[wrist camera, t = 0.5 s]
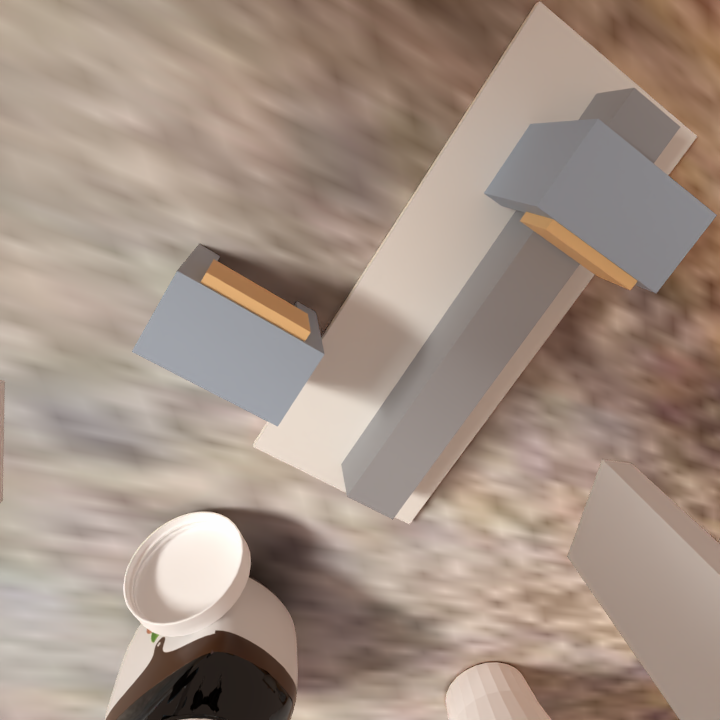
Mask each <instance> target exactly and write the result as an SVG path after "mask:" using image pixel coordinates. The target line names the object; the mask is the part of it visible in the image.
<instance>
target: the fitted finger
mask: <svg viewBox="0 0 720 720" xmlns="http://www.w3.org/2000/svg"><path fill="white" fill-rule="evenodd" d="M484 194H485V195H487V196H488V197H490V198H491V199H492V200H494V201H495V202H497V203H498V204H499V205H501V206H503V207H507V208H510V209H514V210H517V211H521V212H524V213H525V214H524V215H523V217H522V218H521V220H520V222H522V223H523V224H525V225H526V226H527V227H529V228H530V229H532V230H533V231H534V232H536V233H537V234H539V235H540V236H541V237H543V238H544V239H546V240H547V241H548V242H550V243H551V244H553V245H554V246H555V247H557V248H558V249H560V250H561V251H562V252H564V253H565V254H567V255H568V256H569V257H571V258H572V259H574V260H575V261H576V262H578V263H579V264H581V265H582V266H583V267H585V268H586V269H588V270H589V271H590V272H592V273H593V274H595V275H596V276H597V277H600V278H602V279H605V280H607V281H609V282H612V283H614V284H616V285H619V286H621V287H623V288H626V289H628V290H631V289H632V288H633V287H634V285H636V286H639V287H641V288H644V289H646V290H649V291H651V292H654V293H657V292H658V291H659V289H660V288H661V287H662V285H663V284H664V283H665V282H666V280H667V279H668V278H669V276H670V275H671V274H672V273H673V271H674V270H675V269H676V267H677V266H678V265H679V263H680V262H681V261H682V260H683V258H684V257H685V256H686V254H687V253H688V252H689V251H690V249H691V248H692V247H693V245H694V244H695V243H696V242H697V240H698V239H699V238H700V236H701V235H702V234H703V233H704V231H705V230H706V229H707V227H708V226H709V225H710V223H711V222H712V221H713V220H714V218H715V217H716V216H717V215H716V214H715V213H714V212H712V211H711V210H710V209H709V208H707V207H706V206H705V205H704V204H702V203H701V202H700V201H699V200H698V199H696V198H695V197H694V196H693V195H691V194H690V193H689V192H688V191H687V190H685V189H684V188H683V187H682V186H680V185H679V184H678V183H677V182H676V181H674V180H673V179H672V178H671V177H669V176H668V175H667V174H666V173H664V172H663V171H662V170H661V169H660V168H658V167H657V166H656V165H655V164H653V163H652V162H651V161H650V160H649V159H647V158H646V157H645V156H644V155H642V154H641V153H640V152H639V151H637V150H636V149H635V148H634V147H633V146H631V145H630V144H629V143H628V142H626V141H625V140H624V139H623V138H622V137H620V136H619V135H618V134H617V133H615V132H614V131H613V130H612V129H611V128H609V127H608V126H607V125H606V124H604V123H603V122H602V121H601V120H599V119H587V120H574V121H561V122H548V123H535V124H530V125H529V127H528V128H527V130H526V131H525V133H524V134H523V136H522V137H521V139H520V140H519V142H518V143H517V145H516V146H515V148H514V149H513V150H512V152H511V153H510V155H509V156H508V158H507V159H506V161H505V162H504V164H503V165H502V167H501V168H500V170H499V171H498V173H497V174H496V176H495V177H494V179H493V180H492V182H491V183H490V185H489V186H488V188H487V189H486V191H485V192H484Z"/></svg>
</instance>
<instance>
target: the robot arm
mask: <svg viewBox="0 0 720 720" xmlns="http://www.w3.org/2000/svg"><path fill="white" fill-rule="evenodd" d="M4 392H5V381H2V380H0V503H1V502H2V501H3V451H4ZM567 557H568V558H569V560H570V561H571V563H572V564H573V566H574V567H575V568H576V570H577V571H578V573H579V574H580V576H581V577H582V579H583V580H584V582H585V583H586V584H587V586H588V587H589V589H590V590H591V592H592V593H593V595H594V596H595V598H596V599H597V600H598V602H599V603H600V605H601V606H602V608H603V609H604V611H605V612H606V614H607V615H608V616H609V618H610V619H611V621H612V622H613V624H614V625H615V627H616V628H617V630H618V631H619V632H620V634H621V635H622V637H623V638H624V640H625V641H626V643H627V644H628V646H629V647H630V648H631V650H632V651H633V653H634V654H635V656H636V657H637V659H638V660H639V662H640V663H641V664H642V666H643V667H644V669H645V670H646V672H647V673H648V675H649V676H650V678H651V679H652V680H653V682H654V683H655V685H656V686H657V688H658V689H659V691H660V692H661V694H662V695H663V696H664V698H665V699H666V701H667V702H668V704H669V705H670V707H671V708H672V710H673V711H674V712H675V714H676V715H677V717H678V718H679V720H720V544H719V543H718V542H717V541H716V540H715V539H714V538H713V537H711V536H710V535H709V534H708V533H707V532H706V531H705V530H704V529H703V528H702V527H701V526H699V525H698V524H697V523H696V522H695V521H694V520H693V519H692V518H691V517H690V516H689V515H687V514H686V513H685V512H684V511H683V510H682V509H681V508H680V507H679V506H678V505H677V504H675V503H674V502H673V501H672V500H671V499H670V498H669V497H668V496H667V495H666V494H665V493H663V492H662V491H661V490H660V489H659V488H658V487H657V486H656V485H655V484H654V483H653V482H651V481H650V480H649V479H648V478H647V477H646V476H645V475H644V474H643V473H642V472H640V471H639V470H638V469H637V468H636V467H635V466H634V465H633V464H632V463H627V462H620V461H612V460H605V459H602V461H601V464H600V467H599V469H598V472H597V475H596V478H595V480H594V483H593V486H592V489H591V492H590V494H589V497H588V500H587V503H586V505H585V508H584V511H583V514H582V517H581V519H580V522H579V525H578V528H577V531H576V533H575V536H574V539H573V542H572V544H571V547H570V550H569V553H568V556H567Z"/></svg>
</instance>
